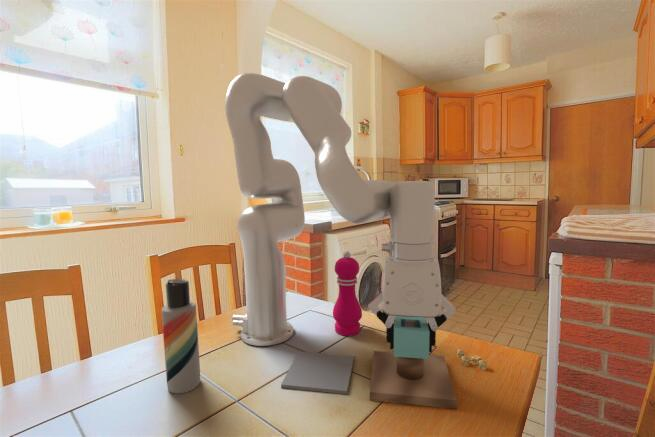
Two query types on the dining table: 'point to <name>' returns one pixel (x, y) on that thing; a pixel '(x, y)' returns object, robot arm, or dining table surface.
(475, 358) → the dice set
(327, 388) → the mat
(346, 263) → the pepper mill
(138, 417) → the dining table surface
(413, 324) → the stand
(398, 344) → the collar
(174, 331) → the lotion bottle
